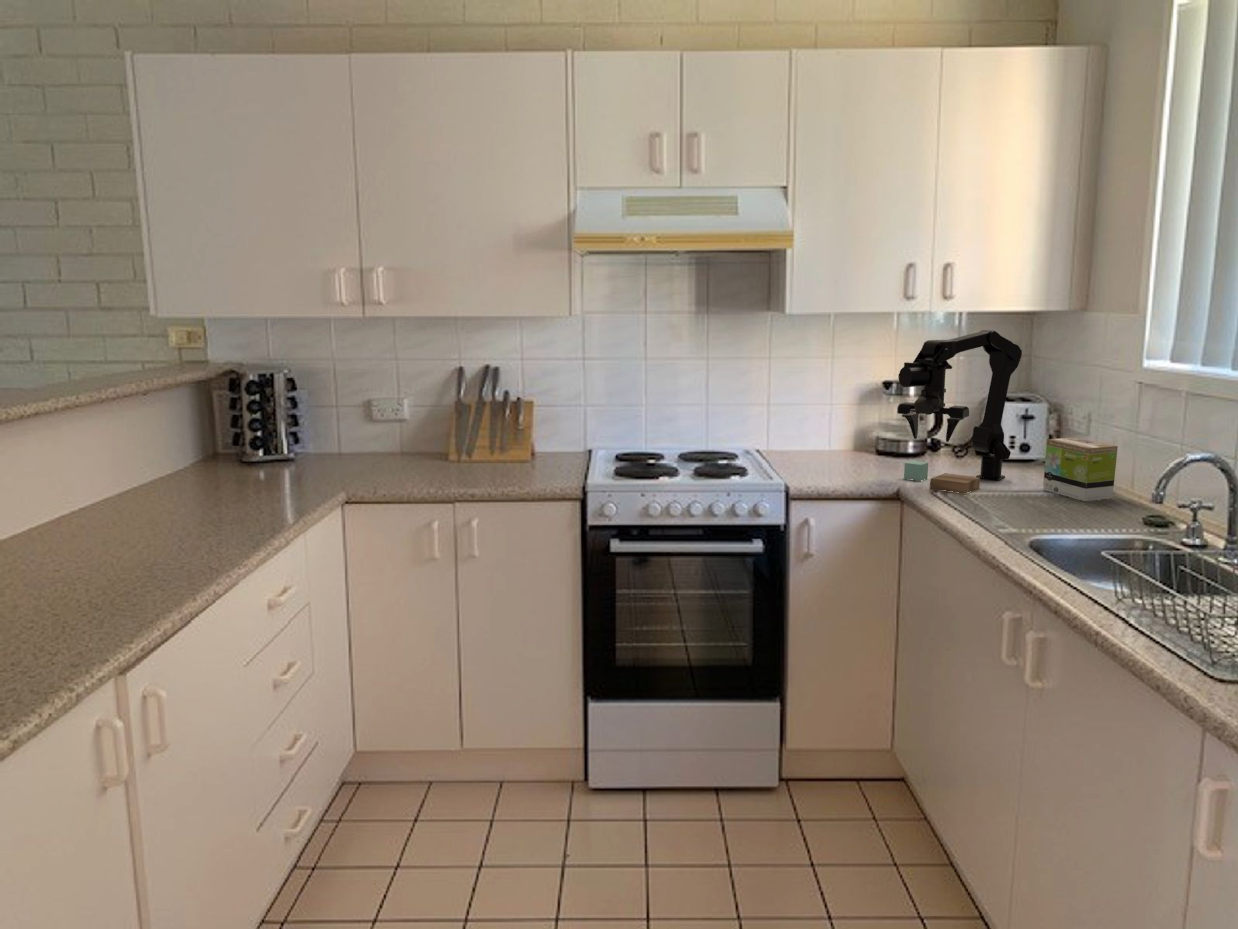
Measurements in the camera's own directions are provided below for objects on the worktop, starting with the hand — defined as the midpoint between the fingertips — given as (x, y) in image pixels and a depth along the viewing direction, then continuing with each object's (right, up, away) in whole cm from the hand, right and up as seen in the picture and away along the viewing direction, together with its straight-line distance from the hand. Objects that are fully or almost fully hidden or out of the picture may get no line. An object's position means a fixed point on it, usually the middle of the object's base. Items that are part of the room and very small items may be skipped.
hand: (931, 440), depth 262 cm
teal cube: (-1, -11, +9) cm, 15 cm away
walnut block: (+5, -14, -4) cm, 16 cm away
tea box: (+35, -15, -12) cm, 40 cm away
